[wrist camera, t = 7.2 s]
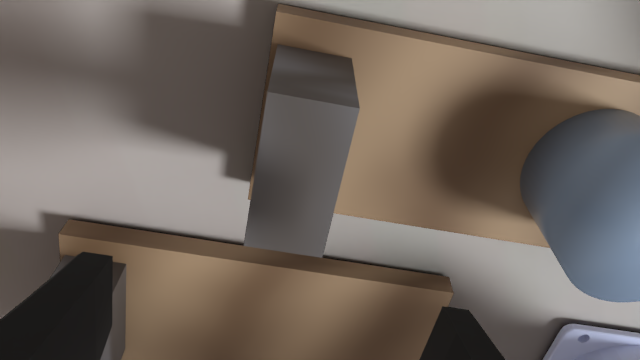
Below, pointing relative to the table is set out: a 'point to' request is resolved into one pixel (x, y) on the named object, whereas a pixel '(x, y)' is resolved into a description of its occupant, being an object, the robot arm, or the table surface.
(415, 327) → the strip empty
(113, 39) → the table surface
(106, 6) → the table surface
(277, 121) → the strip
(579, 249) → the blue-grey rounded block
